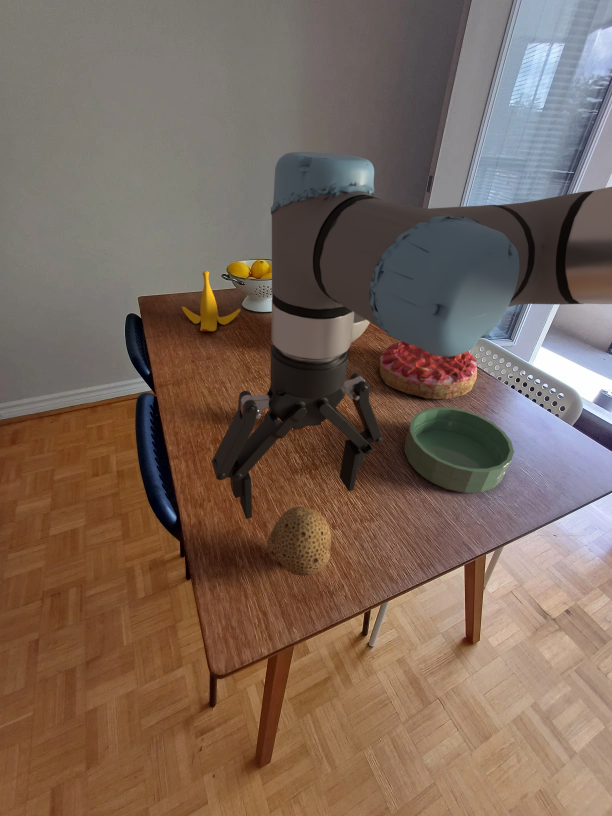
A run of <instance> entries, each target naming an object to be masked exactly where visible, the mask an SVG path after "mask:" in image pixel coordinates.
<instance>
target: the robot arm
mask: <svg viewBox="0 0 612 816" xmlns="http://www.w3.org/2000/svg"><path fill="white" fill-rule="evenodd" d="M374 180H375V168H374V165H373V163H372V162H371V161H370V160H369V159H367V158H363V157H360V156H356V155H349V154H340V153H331V152H330V153H329V152H313V151H311V152H310V151H293V152H287V153H285V154H283V155H281V157H280V158H279V159H278V160H277V161H276V164H275V168H274V180H273V181H274V182H273V198H272V199H273V200H272V205H271V207H270V215H271V322H270V323H271V324H270V325H271V326H270V327H271V330H270V331H271V334H270V341H271V343H272V345H271V347H270V377H269V378H270V386H269V389H268V391H267V392H266V393H265V394H256V395H255V394H254V395H252V393H251V392H250V391H249V390H242V391H240V393H239V395H238V402H237V410H236V412H235V415H234V416H233V419H232V420H231V422H230V424H229V426H228V428H227V430H226V432H225V434H224V436H223V438H222V439H221V442H220V444H219V446H218V448H217V450H216V452H215V453H214V455H213V457H212V459H211V464H212V468H213V472H214V475H215V478H216V480H218V481H224V480H226V479H227V478H229V483H230V488H231V492H232V495H233V497H234V498H235V499H237V498H239V503H240V505H241V508H242V511H243V514H244V517H245V520H248V519H252V518H253V500H252V499H253V498H252V477H251V475H250V471H251V470H252V469H253V468H254V467H255V466H256V464H257V463H258V462H259V461H260V460H261V459H262V458H263V456H264V455H266V453H267V452H268V451H269V450H270V449H271V448H272V446H273V445H275V443H276V442H277V441H278V440H279V439H283V438H284V437H286V435H287V434H288V433H289V432H290V431H291V430H294V431H296V430H301V429H303V428H304V429H305V428H306V427H316V426H321V425H322V423H323V422H325V421H326V420H328V421H329V422H330V423H331V424H332V425H333V426H334V427H335V428H337V429H338V430H339V431H340V432H341V433H342V434H343V435H345V437H346V438H348V439H345V441H344V447H343V452H342V459H341V464H340V465H341V466H340V471H339V479H340V481H341V482H342V483H343V485H344V487H345V488H346V490H347V492H352V491H354V490H355V485H356V481H357V475H358V470H359V468H360V467H363V465H364V463H365V457H366V456H369V455H371V453H373V447H372V446H371V445H372V444H373V443H374V444H376V445H378V444H381V443H382V442H383V441H384V436H383V434H382V431H381V428H380V425H379V423H378V420H377V417H376V415H375V413H374V410H373V407H372V404H371V402H370V393H371V392H370V390H371V387H370V385H369V384H368V382H367V381H366V380H365V379H364V378H363V377H362V376H361V375H360V374H359V373H358V372H354V373H352V374H350V376H349V379H348V380H346V377H347V371H348V370H347V369H348V362H349V356H350V354H349V348H350V347H351V345H352V343H351V337H352V329H353V321H354V313H356V314H358V315H359V316H361V317H363V318H364V319H366V320H368V321H369V322H370V323H371V324H373V325H374V326H375V327H377V328H379V329H380V330H382V331H383V332H384V333H386V334H387V335H388V336H389V337H390V338H391V337H392V338H393V339H395V340H397V341H398V342H401V341H404V342H405V343H407V344H411V345H414V346H416V347H418V348H420V349H422V350H424V351H426V352H428V353H430V354H433V355H437V356H442V357H451V356H456V355H460V354H462V353H465V352H467V351H468V352H470V351H471V350H472V349H473V348H475V346H476V345H477V344H478V342H479V340H480V339H484V338H486V337H488V336H489V335H490V334H491V333H492V332H493V331H494V330H495V328H496V327H497V326H498V324H499V323H500V322H501V320H502V318H503V317H504V315H505V314H506V312H507V310H508V308H509V307H515V306H519V305H586V304H587V305H612V186H607V187H602V188H599V189H593V190H588V191H587V190H586V191H578V192H573V193H568V194H562V195H558V196H553V197H552V196H551V197H548V198H542V199H537V200H531V201H523V202H515V203H505V204H484V205H468V206H467V205H466V206H448V207H431V208H427V207H418V206H417V207H416V206H412V205H405V204H401V203H397V202H393V201H388V200H384V199H381V198H378V197H376V196H375V195H374V194H375V187H374V184H375V183H374V182H375V181H374ZM346 395H347V396H348V398H350V400H351V401H352V403H353V405H354V408H355V411H356V413H357V415H358V418H359V419H360V423H361V424H362V427H363V430H362V431H360V430H358V429H357V428H356V427H355V426H354V424H353V423H352V422H350V420H349V419H347V417H346V416H345V415H343V413H342V412H340V410H339V409H338V408H337V407H338V406H339V405H340V403H341V402H342V401H343V399H344V398H345V396H346ZM266 409H268V410H267V412H265V414H264V416H263V420H262V422H261V423H260V424H259V425H258V426H257V428H256V429H255V430H254V431H253V429H254V428H255V425H256V421H257V420H259V419H261V418H262V414H263V411H264V410H266ZM279 420H280V421H281V422H280V421H279Z"/></svg>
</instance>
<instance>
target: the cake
mask: <svg viewBox="0 0 612 816" xmlns="http://www.w3.org/2000/svg"><path fill="white" fill-rule="evenodd" d="M379 374H380V376H381V379H382V380H383V381H384V382H385V384H386V385H387V386H389V387H390V388H393V389H395V390H397V391H400V392H403V393H405V394H408V395H414V396H417V397H420V398H424V399H425V400H432V399H433V400H437V401H439V400H448V399H453V398H457V397H463V396H464V395H466V394H468V393H470V392H471V391H472V389H473V387H474V386H475V385H474V384H475V382H476V381H477V378H478V376H477V375H478V366H477V359H476V358H475V357H474V356H473V354H471V353H470V351H467V352H465V353H462V354H460V355H456V356H451V357H442V356H437V355H433V354H430V353H428V352H426V351H424V350H422V349H420V348H418V347H416V346H414V345H411V344H407V343H405V342H404V341H398V342H396V343H391V345H389V346H387V347H386V350H385V351H384V352H381V353H380V355H379Z"/></svg>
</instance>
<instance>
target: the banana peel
mask: <svg viewBox="0 0 612 816" xmlns="http://www.w3.org/2000/svg"><path fill="white" fill-rule="evenodd" d="M202 276H203V277H202V278H203V288H202V293H201V299H200V307H199V309H200V311H199V313H200V315H199V314H196V313H194V312H192V311H191V310H189V308H187V307H185V306H182V307H181V309H182V311H183V313H184V314H185V316H186V317H187V318H188V319H189V321H191V322H192V323H193V324H196V325H197V324H200V329H199V330H200V332H215V331H217V326H218V323H219V324H220V325H224V326H225V325H227V324H229V323H231V322H232V321H233V320H234V319H235V318H236V317H237V316H238V315H239V314H240V312H241V311H242V310H241V308H237V309H236V310H235V311H234V312H232V313H230V314H228V315H226V316H219V311H218V305H217V301H216V298H215V294H214V292H213V290H212V288H211V285H210V279H209V277H210V272H209V271H208V270H203V271H202Z"/></svg>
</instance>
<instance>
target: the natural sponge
mask: <svg viewBox="0 0 612 816" xmlns="http://www.w3.org/2000/svg"><path fill="white" fill-rule="evenodd" d="M272 528H273V529H272V530H271V532H270V535H269V536H268V539H267V543H266V549H267V551H268V554H269V556H270V557H271V558H272V559H273V560H274V561H275V562H278V563H280V565H282V567H283V568H284V569H285V570H286V571H287V572H289V573H291V574H293V575H296V576H311V575H312V576H313V575H314V574H317V573H319V572H321V571H322V570H323V569H324V568H325V567H326V566H327V564H328V563H329V559H330V556H331V547H332V536H331V531H330V526H329V524H328V522H327V520H326V518H324V516H323V515H322V513H320V512H319V511H317V510H316V509H313V508H311V507H306V506H295V507H292V508H289V509H287V510H286V511H285V512H284V513H283V514H282V515H281V516H280V517H279V518H278V520H277V522H275V525H274V527H272Z"/></svg>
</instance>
